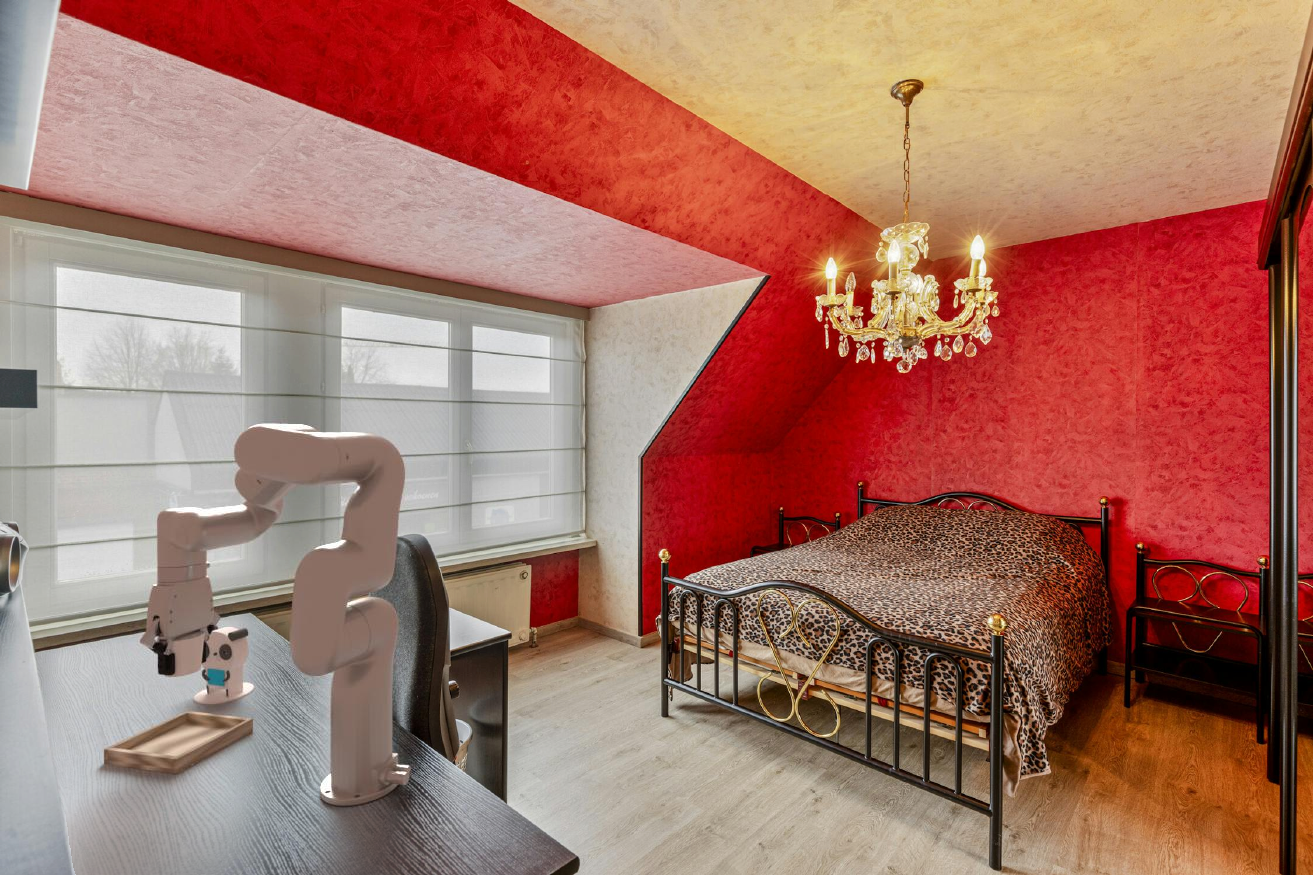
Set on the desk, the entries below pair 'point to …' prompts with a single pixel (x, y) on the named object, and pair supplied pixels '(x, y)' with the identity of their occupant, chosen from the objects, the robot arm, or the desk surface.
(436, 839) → the desk surface
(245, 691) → the panda figurine
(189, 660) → the white cup
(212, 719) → the tray
